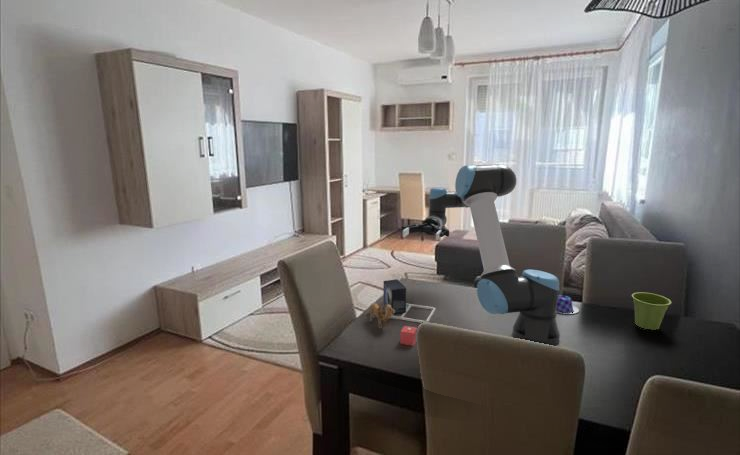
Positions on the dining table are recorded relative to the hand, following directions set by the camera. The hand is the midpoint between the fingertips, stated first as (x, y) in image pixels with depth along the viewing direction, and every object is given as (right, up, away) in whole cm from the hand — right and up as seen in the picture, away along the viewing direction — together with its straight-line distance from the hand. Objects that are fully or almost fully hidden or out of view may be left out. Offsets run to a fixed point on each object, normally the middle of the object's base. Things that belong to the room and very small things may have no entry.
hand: (419, 235), depth 162 cm
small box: (-10, -30, +2) cm, 31 cm away
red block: (-7, -36, -23) cm, 43 cm away
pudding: (+58, -30, +4) cm, 66 cm away
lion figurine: (-16, -33, -9) cm, 38 cm away
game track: (-5, -31, 0) cm, 31 cm away
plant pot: (+82, -34, -12) cm, 89 cm away
